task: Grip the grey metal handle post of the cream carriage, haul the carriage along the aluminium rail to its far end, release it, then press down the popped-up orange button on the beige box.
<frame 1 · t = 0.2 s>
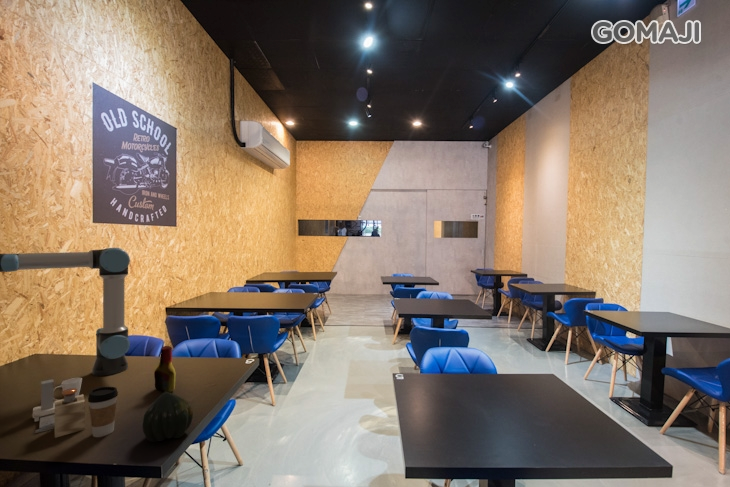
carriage: (47, 398, 132), point 7 cm above the table, slide at 0.0 cm
bottle: (165, 390, 155), on the table
coffee cup: (103, 433, 120), on the table
rail: (47, 420, 129), on the table
beige box: (69, 429, 123), on the table
button: (69, 400, 123), point 10 cm above the table, slide at 0.0 cm
squash: (167, 436, 118), on the table
cup: (67, 401, 146), on the table
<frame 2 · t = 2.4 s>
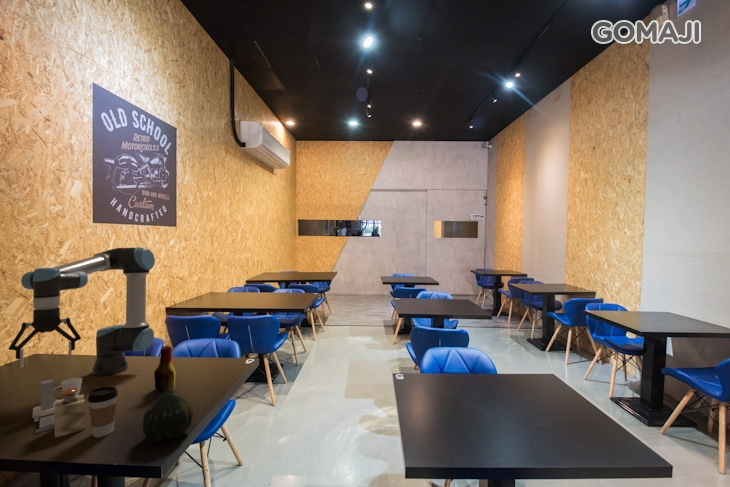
hand: (46, 362, 132), 21 cm above the table, fingers open, 13 cm apart
nothing on the table moved.
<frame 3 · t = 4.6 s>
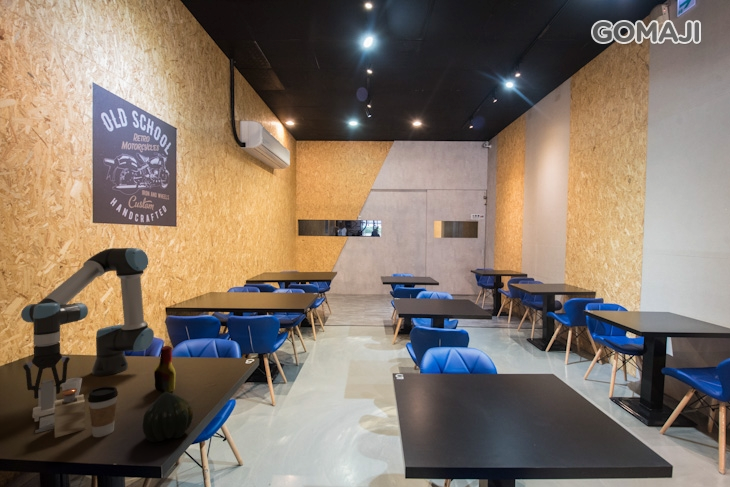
hand: (47, 404, 132), 5 cm above the table, fingers closed on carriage, 3 cm apart
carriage: (47, 398, 132), point 7 cm above the table, slide at 0.0 cm, touching gripper
everything else where it was.
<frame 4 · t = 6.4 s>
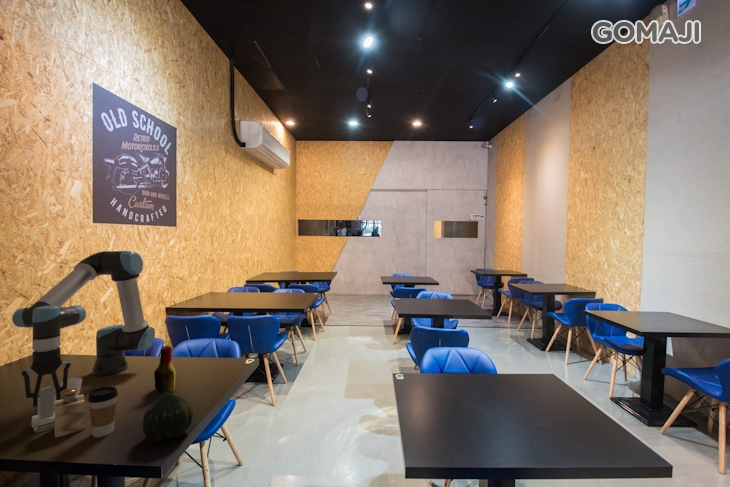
hand: (47, 412, 126), 5 cm above the table, fingers closed on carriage, 3 cm apart
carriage: (47, 406, 126), point 7 cm above the table, slide at 8.9 cm, touching gripper
everything else where it was.
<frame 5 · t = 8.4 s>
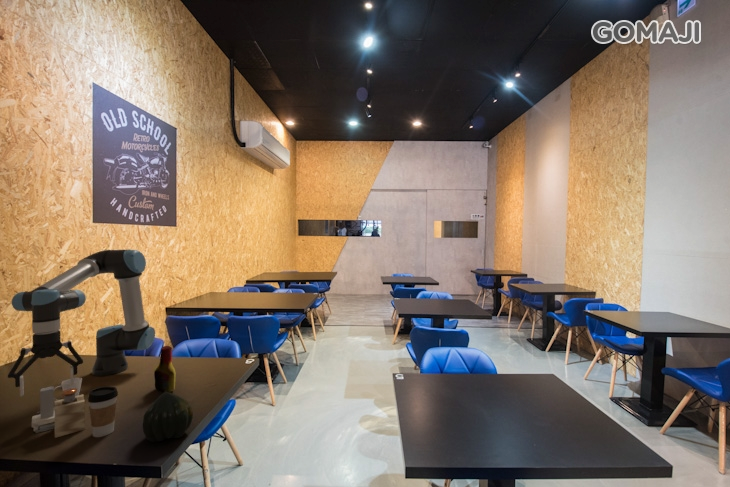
hand: (48, 389, 126), 13 cm above the table, fingers open, 13 cm apart
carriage: (47, 406, 126), point 7 cm above the table, slide at 9.0 cm
everything else where it was.
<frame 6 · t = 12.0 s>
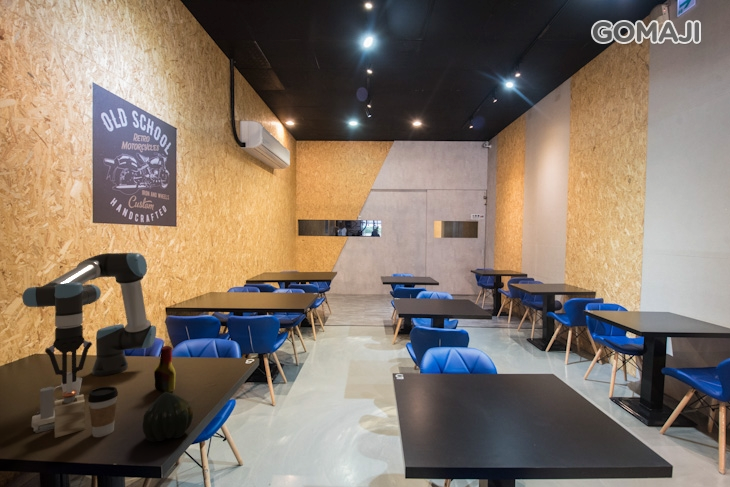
hand: (69, 391, 123), 13 cm above the table, fingers closed
button: (69, 401, 123), point 10 cm above the table, slide at 0.7 cm, touching gripper
everything else where it was.
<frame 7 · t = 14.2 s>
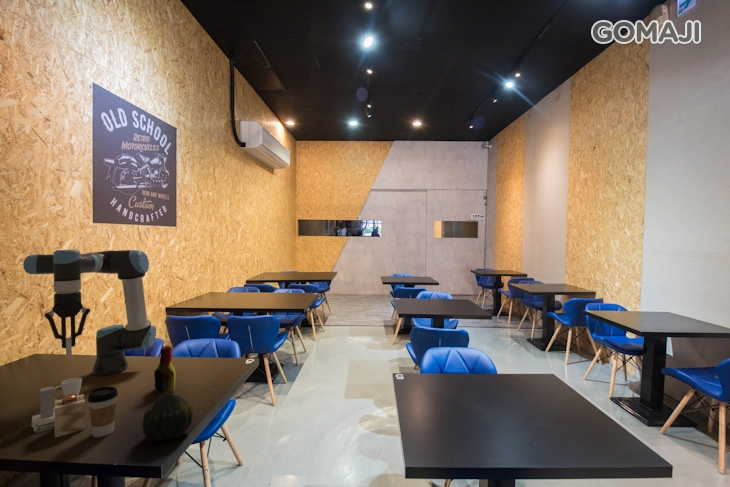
hand: (68, 356, 126), 25 cm above the table, fingers closed
button: (69, 405, 123), point 8 cm above the table, slide at 2.1 cm
everything else where it was.
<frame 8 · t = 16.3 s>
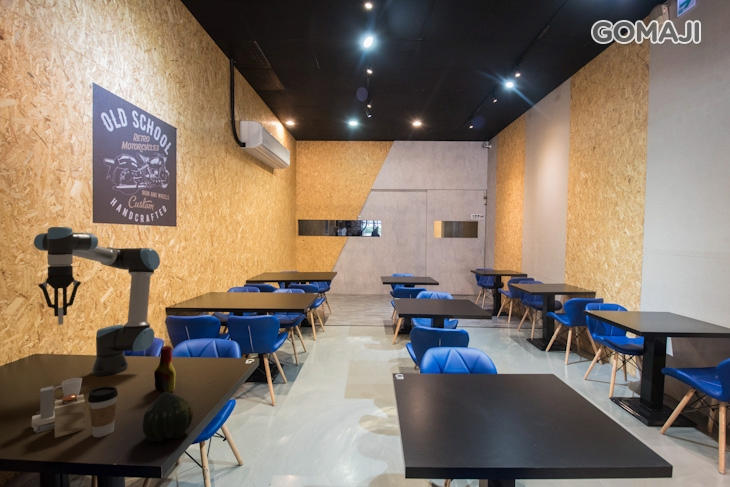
hand: (60, 324, 137), 34 cm above the table, fingers closed
nothing on the table moved.
at the end: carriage slide at 9.0 cm; button slide at 2.1 cm; the gripper is holding nothing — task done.
